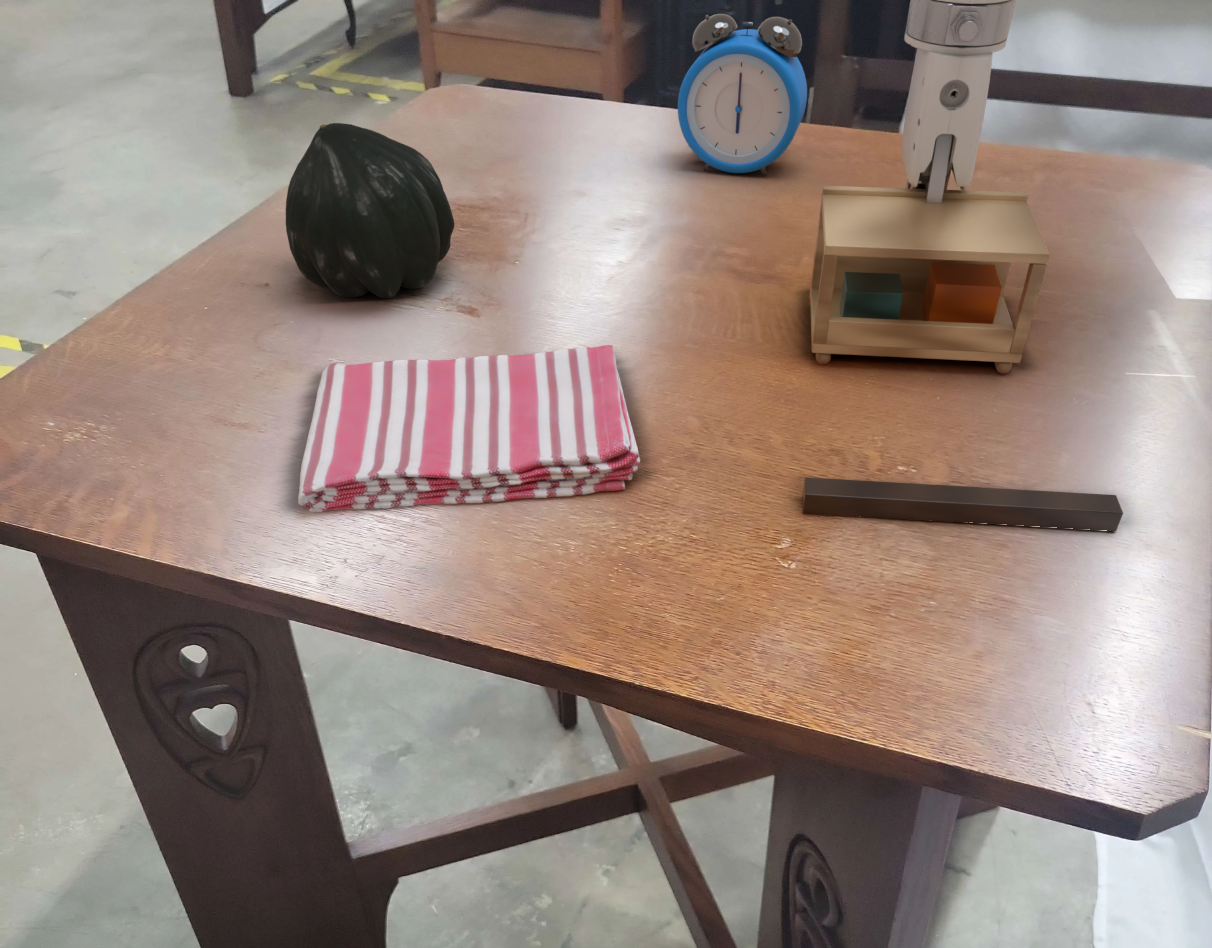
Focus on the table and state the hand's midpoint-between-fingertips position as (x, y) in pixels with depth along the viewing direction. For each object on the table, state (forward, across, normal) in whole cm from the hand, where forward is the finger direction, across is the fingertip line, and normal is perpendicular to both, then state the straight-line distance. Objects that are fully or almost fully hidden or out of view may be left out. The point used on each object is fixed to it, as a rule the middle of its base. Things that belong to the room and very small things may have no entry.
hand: (912, 255), depth 92 cm
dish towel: (+4, -27, +33) cm, 43 cm away
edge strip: (+4, -33, -1) cm, 33 cm away
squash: (+4, -2, +48) cm, 48 cm away
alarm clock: (+4, +30, +16) cm, 34 cm away
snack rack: (+4, -9, 0) cm, 10 cm away
